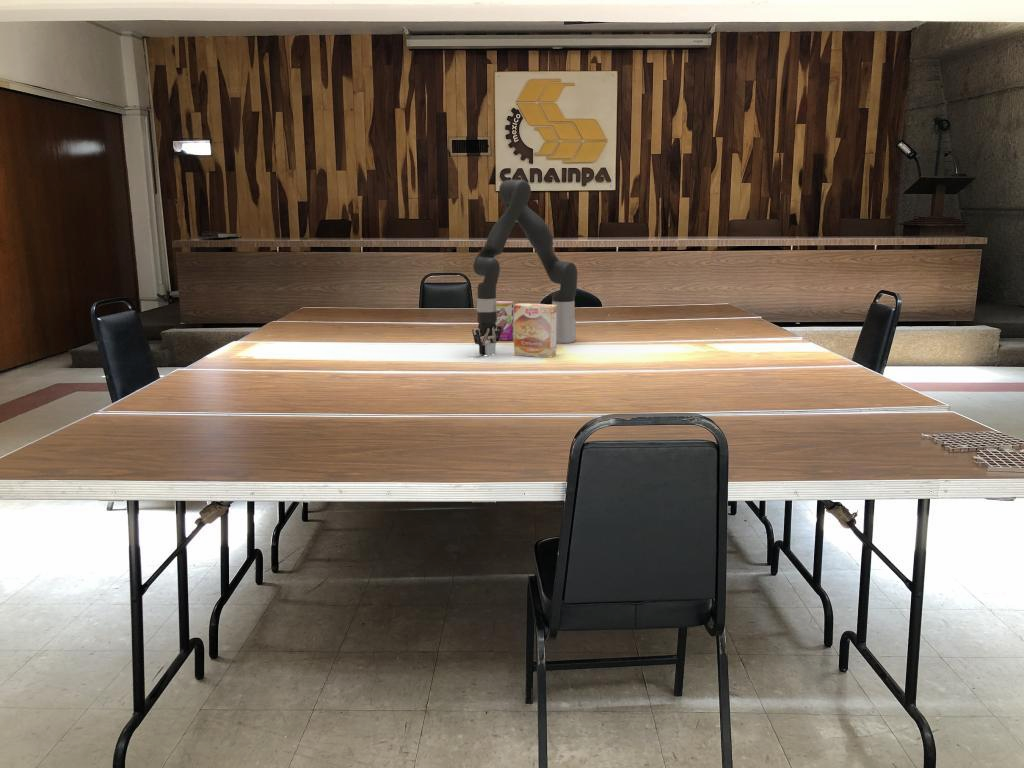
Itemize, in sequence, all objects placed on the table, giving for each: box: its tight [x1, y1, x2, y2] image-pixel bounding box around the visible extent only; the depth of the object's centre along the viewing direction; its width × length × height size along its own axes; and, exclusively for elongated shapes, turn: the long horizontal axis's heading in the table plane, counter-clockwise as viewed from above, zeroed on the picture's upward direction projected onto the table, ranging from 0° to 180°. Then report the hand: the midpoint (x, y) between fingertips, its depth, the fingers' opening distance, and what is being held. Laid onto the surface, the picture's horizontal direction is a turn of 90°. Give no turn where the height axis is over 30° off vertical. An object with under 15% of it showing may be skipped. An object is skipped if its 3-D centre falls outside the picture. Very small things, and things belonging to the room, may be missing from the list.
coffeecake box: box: [513, 302, 557, 358], centre depth 325 cm, size 15×7×20 cm, turn 67°
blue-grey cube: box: [478, 341, 497, 356], centre depth 328 cm, size 4×4×4 cm
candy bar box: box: [486, 300, 515, 341], centre depth 359 cm, size 11×5×16 cm, turn 84°
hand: (487, 353), depth 328 cm, fingers open, 4 cm apart
